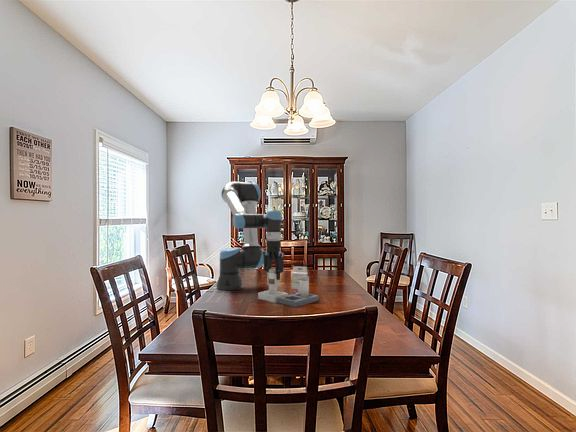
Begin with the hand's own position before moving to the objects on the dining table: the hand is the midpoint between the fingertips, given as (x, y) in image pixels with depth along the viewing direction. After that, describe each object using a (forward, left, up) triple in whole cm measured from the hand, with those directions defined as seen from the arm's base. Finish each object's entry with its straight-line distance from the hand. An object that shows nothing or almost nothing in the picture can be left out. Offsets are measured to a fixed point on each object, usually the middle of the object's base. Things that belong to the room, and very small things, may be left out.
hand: (273, 285), depth 187 cm
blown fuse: (0, 0, -4) cm, 4 cm away
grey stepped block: (+1, +20, -7) cm, 21 cm away
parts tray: (0, 0, -7) cm, 7 cm away
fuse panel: (+13, +5, -7) cm, 16 cm away
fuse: (+13, +10, -7) cm, 18 cm away
